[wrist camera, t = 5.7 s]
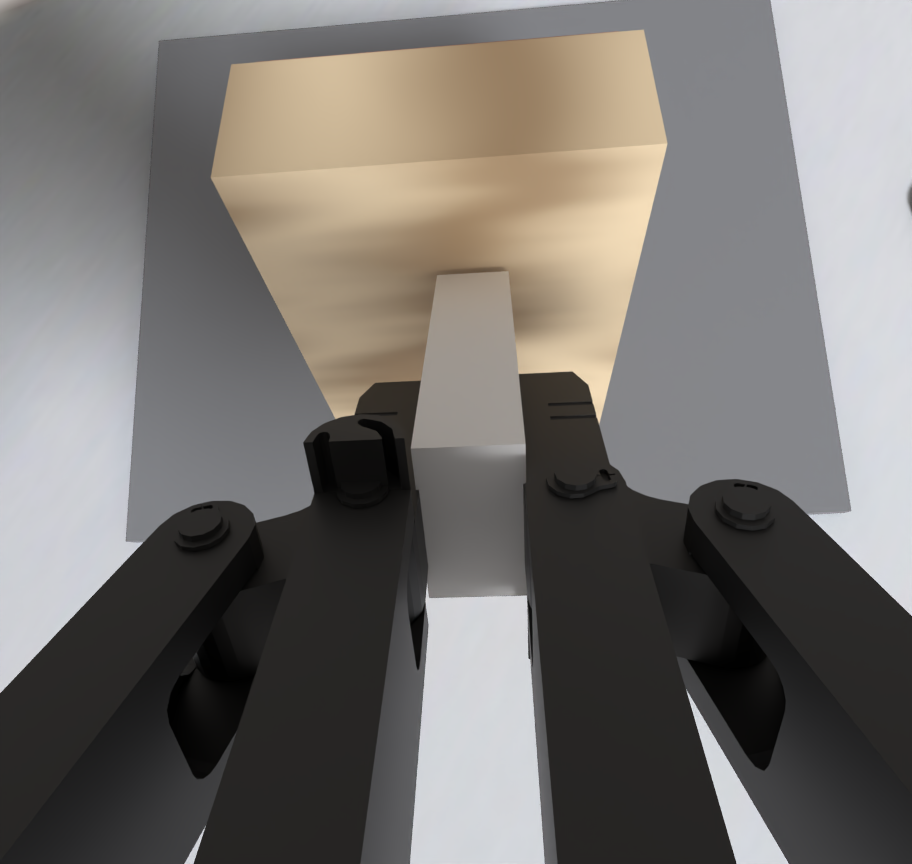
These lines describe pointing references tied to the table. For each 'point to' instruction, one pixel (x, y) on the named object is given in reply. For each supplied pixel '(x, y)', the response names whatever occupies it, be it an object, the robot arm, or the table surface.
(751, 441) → the rubber mat
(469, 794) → the table surface
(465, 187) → the oak block
